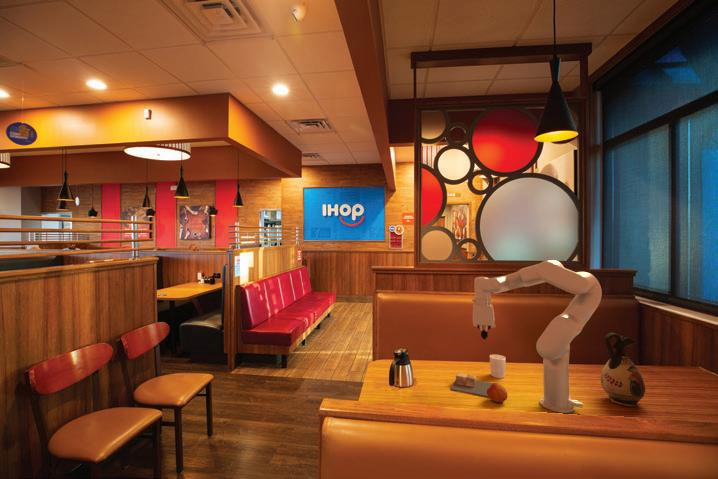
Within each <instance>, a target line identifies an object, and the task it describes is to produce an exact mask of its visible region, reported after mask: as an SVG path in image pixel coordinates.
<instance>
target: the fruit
mask: <svg viewBox="0 0 718 479" xmlns="http://www.w3.org/2000/svg"><path fill="white" fill-rule="evenodd" d="M487 395H488V396H489V399H490V400H492V401H493V402H496V403H499V404H500V403H501V404H502V403H505V401H507V399H508V391H507V389H506V388H505V387H504V386H503V385H502V384H501V383H499V382H498V383H497V382H493V384H492V385H491V386H490V388H488V389H487Z"/></svg>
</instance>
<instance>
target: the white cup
mask: <svg viewBox="0 0 718 479" xmlns="http://www.w3.org/2000/svg"><path fill="white" fill-rule="evenodd" d="M506 358H507V357H506V356H504V355H500V354H490V355H489V366H490V367H489V369H490V376H491V377H493V378H496V379H504V378H505V377H506V374H505V373H506V362H507V361H506Z"/></svg>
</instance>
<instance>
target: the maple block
mask: <svg viewBox="0 0 718 479" xmlns="http://www.w3.org/2000/svg"><path fill="white" fill-rule="evenodd" d="M476 380H477V376H476V375H472V374H466V373H462V372H457V373H456V374H455V381H456V384H461V385H466V386H471V387H475V386H476Z"/></svg>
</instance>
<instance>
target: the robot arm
mask: <svg viewBox="0 0 718 479" xmlns="http://www.w3.org/2000/svg"><path fill="white" fill-rule="evenodd" d="M473 282H474V283H473V284H474V285H473V286H474V298H472V299H471V302H472V303H473V306H472V327H476V328H477V329H478V330H479V331H480V337H481V338H482V340H487V338H489V332H488V331H490V330H491V329H493V328H496V326H497V325H496V323H495V322H496V319H495V318H496V317H495V310H494V305H493V304H492V297H491V296H492V295H491V294H500V293H503V292H508V291H512V290H515V289H519V288H523V287H525V288H526V287H531V286H535V285H540V284H543V283H544V284H545V283H547V284H550V285H552V286H554V287H556V288H558V289H561V290H563V291H565V292H567V293H570V294H573V295H574V297H573V299H572V300H571V301H570V302H569V304H568V306H567V307H566V308H565V310H563V312H562V313H560V314H559V315H557V316H556V317H554V318H553V319H552V320H551V321H550V323H549V324H548V325H547V327H546V328H545V330H544V331H543V333H541V335H540V336H539V337H538V339H537V341H536V345H535V346H536V351H537V353H538V354H539V355H538V356H540V357H542V358H543V362H542V365H543V366H542V367H543V368H542V369H543V370H542V371H543V372H542V373H543V374H542V375H543V380H542V381H543V397H541V398H540V399H539V404H540V405H541V407H542V408H545V409H546V410H549V411H552V412H554V413H560V414H570V413H573V412H574V410H575V408H576V407H577V408H581V409H583V408H584V407H583V405H584V404H583V402H579V400H576V399H572V398H571V395H570V350H571V346H570V345H571V342H573V340H574V339H575V338H576V337H577V336H578V335H579V334H580V333H581V332H582V330H583V328H584V327H585V326H586V324H587V323H588V321H589V320H590V319H591V317H592V316H593V314H594V313H595V311H596V310H597V308H598V307H599V305H600V303H601V301H602V296H603V291H602V287H601V284H600V282H599V280H598V279H597V278H596V276H594V275H593V274H592V273H590V272H586V271H577V272H575V271H573V270H571V269H569V268H566V267H564V265H563V264H562V263H561V262H560V261H558V260H556V259H555V260H554V259H549V260H544V261H542V262H540V263H537V264H534V265H530V266H526V267H523V268H520V269H519V270H517V271H515V272H512V273H509V274H505V275H501V276H495V277H488V276H487V277H486V276H478V277H477V276H476V277H475V278H474V281H473ZM484 327H485V328H484Z"/></svg>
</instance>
